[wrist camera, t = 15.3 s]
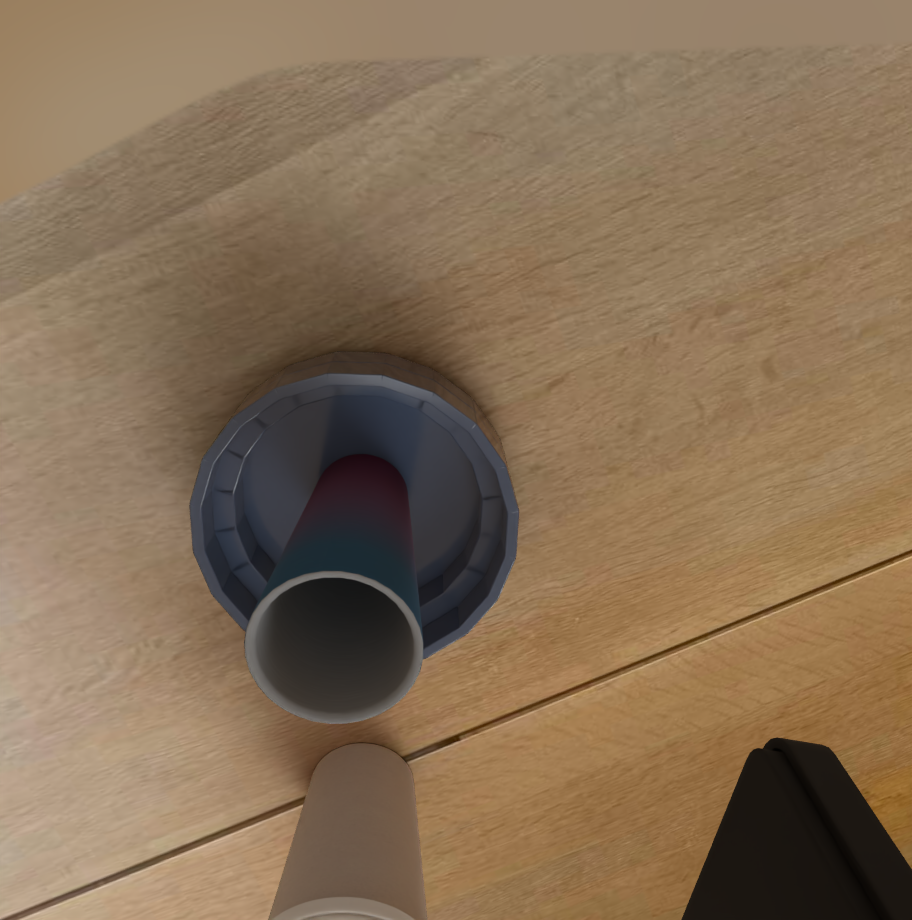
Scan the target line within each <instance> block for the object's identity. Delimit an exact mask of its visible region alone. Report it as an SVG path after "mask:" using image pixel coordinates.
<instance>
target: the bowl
mask: <svg viewBox="0 0 912 920" xmlns="http://www.w3.org/2000/svg"><path fill="white" fill-rule="evenodd" d="M354 454H368V455H373V456H376V457H379V458H382V459H384V460H385V461H387V462H389V463H390V464H392V465H393V466H394V467H395V468H396V469H397V470H398V471H399V473H400V474H401V476H402V477H403V479H404V481H405V483H406V487H407V491H408V499H409V508H410V518H411V527H412V537H413V547H414V556H415V566H416V575H417V585H418V595H419V604H420V614H421V623H422V633H423V659H426V658H428V657H430V656H431V655H433V654H435V653H436V652H438V651H440V650H441V649H443V648H445V647H446V646H448V645H450V644H451V643H453V642H455V641H456V640H458V639H460V638H461V637H463V636H465V635H466V634H468V633H469V632H470V630H471V629H472V628H473V627H474V626H475V625H476V624H477V623H478V622H479V620H480V619H481V618H482V617H483V616H484V615H485V614H486V613H487V611H488V610H489V609H490V608H491V607H492V606H493V605H494V604H495V603H496V601H497V600H498V598H499V596H500V594H501V591H502V589H503V587H504V585H505V582H506V580H507V578H508V575H509V573H510V571H511V568H512V566H513V564H514V561H515V559H516V552H517V537H518V523H519V508H518V504H517V500H516V496H515V492H514V488H513V484H512V480H511V477H510V473H509V470H508V466H507V462H506V459H505V455H504V452H503V448H502V445H501V441H500V438H499V436H498V434H497V433H496V431H495V430H494V428H493V427H492V426H491V424H490V423H489V421H488V420H487V418H486V417H485V416H484V414H483V413H482V411H481V410H480V408H479V407H478V405H477V404H476V403H475V401H474V400H473V399H472V398H471V397H470V396H469V395H467V394H466V393H465V392H463V391H462V390H461V389H459V388H458V387H457V386H455V385H454V384H453V383H451V382H450V381H449V380H447V379H446V378H445V377H443V376H442V375H441V374H439V373H438V372H437V371H435V370H434V371H433V369H431V368H428V367H426V366H423V365H420V364H417V363H414V362H411V361H408V360H405V359H403V358H400V357H397V356H394V355H391V354H387V353H373V352H339V351H337V352H333V353H330V354H326V355H323V356H319V357H316V358H312V359H309V360H305V361H302V362H298V363H295V364H292V365H289V366H287V367H286V368H284V369H283V370H281V371H280V372H278V373H277V374H275V375H274V376H273V377H271V378H270V379H268V380H267V381H265V382H264V383H262V384H261V385H260V386H258V387H257V388H255V389H254V390H252V391H251V392H250V393H249V394H248V395H247V396H246V398H245V399H244V401H243V402H242V403H241V405H240V406H239V407H238V409H237V410H236V412H235V413H234V414H233V416H232V417H231V418H230V420H229V421H228V423H227V424H226V425H225V427H224V428H223V429H222V431H221V432H220V434H219V435H218V437H217V438H216V439H215V441H214V442H213V444H212V445H211V446H210V448H209V449H208V451H207V452H206V454H205V455H204V456H203V458H202V461H201V464H200V468H199V472H198V475H197V479H196V482H195V486H194V489H193V493H192V496H191V500H190V505H189V507H190V520H191V533H192V546H193V551H194V552H193V553H194V555H195V558H196V560H197V562H198V565H199V567H200V569H201V571H202V574H203V576H204V578H205V580H206V583H207V585H208V587H209V590H210V592H211V594H212V595H213V597H214V598H215V599H216V600H217V601H218V602H219V603H220V605H221V606H222V607H223V608H224V609H225V610H226V611H227V612H228V614H229V615H230V616H231V617H232V618H233V619H234V620H235V621H236V623H237V624H238V625H239V626H240V627H241V628H242V629H243V630H245V632H246V628H247V625H248V622H249V620H250V617H251V615H252V613H253V611H254V609H255V607H256V605H257V603H258V601H259V599H260V597H261V595H262V593H263V591H264V589H265V587H266V585H267V583H268V581H269V579H270V577H271V575H272V573H273V571H274V569H275V567H276V565H277V563H278V561H279V559H280V557H281V555H282V553H283V551H284V549H285V547H286V545H287V543H288V541H289V539H290V537H291V535H292V533H293V531H294V529H295V527H296V525H297V523H298V521H299V519H300V517H301V515H302V513H303V511H304V509H305V507H306V505H307V503H308V501H309V499H310V497H311V495H312V493H313V491H314V489H315V487H316V485H317V483H318V481H319V479H320V477H321V475H322V474H323V472H324V471H325V469H327V468H328V467H329V466H330V465H331V464H332V463H333V462H335V461H337V460H338V459H340V458H343V457H345V456H349V455H354Z"/></svg>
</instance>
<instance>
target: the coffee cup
mask: <svg viewBox="0 0 912 920" xmlns="http://www.w3.org/2000/svg"><path fill="white" fill-rule="evenodd" d="M268 920H427V910H426V900H425V890H424V880H423V870H422V860H421V850H420V840H419V829H418V819H417V809H416V798H415V788H414V779H413V775H412V772H411V770H410V768H409V766H408V765H407V763H406V762H405V761H404V760H403V759H402V758H401V757H400V756H399V755H398V754H396V753H395V752H393V751H391V750H390V749H387V748H385V747H382V746H379V745H375V744H368V743H356V744H349V745H345V746H342V747H339V748H337V749H335V750H333V751H331V752H330V753H328V754H327V755H326V756H325V757H323V758H322V759H321V761H320V762H319V763H318V764H317V766H316V768H315V770H314V772H313V775H312V778H311V782H310V785H309V788H308V791H307V795H306V798H305V801H304V805H303V808H302V811H301V815H300V818H299V821H298V824H297V828H296V831H295V834H294V838H293V841H292V844H291V847H290V851H289V854H288V857H287V860H286V864H285V867H284V870H283V874H282V877H281V880H280V883H279V887H278V890H277V893H276V896H275V899H274V903H273V906H272V909H271V912H270V915H269V919H268Z"/></svg>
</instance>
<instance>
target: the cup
mask: <svg viewBox="0 0 912 920" xmlns="http://www.w3.org/2000/svg"><path fill="white" fill-rule="evenodd" d="M244 646H245V658H246V661H247V664H248V667H249V670H250V673H251V675H252V676H253V678H254V680H255V682H256V684H257V685H258V687H259V688H260V689H261V690H262V691H263V692H264V693H265V695H266V696H267V697H268V698H269V699H270V700H272V701H273V702H274V703H276V704H277V705H278V706H279V707H281V708H282V709H284V710H286V711H288V712H290V713H292V714H294V715H295V716H298V717H301V718H304V719H307V720H310V721H315V722H321V723H328V724H346V723H352V722H357V721H363V720H366V719H368V718H371V717H374V716H377V715H379V714H381V713H382V712H384V711H386V710H388V709H390V708H391V707H393V706H394V705H395V704H396V703H397V702H398V701H400V700H401V699H402V698H403V697H404V696H405V695H406V693H407V692H408V691H409V690H410V688H411V687H412V686H413V684H414V682H415V680H416V678H417V676H418V674H419V672H420V669H421V665H422V660H423V633H422V623H421V614H420V604H419V595H418V585H417V575H416V566H415V556H414V547H413V537H412V527H411V518H410V508H409V499H408V491H407V487H406V483H405V481H404V479H403V477H402V476H401V474H400V473H399V471H398V470H397V469H396V468H395V467H394V466H393V465H392V464H390V463H389V462H387V461H385V460H384V459H382V458H379V457H376V456H373V455H368V454H354V455H349V456H345V457H343V458H340V459H338V460H337V461H335V462H333V463H332V464H331V465H330V466H329V467H328V468H327V469H325V471H324V472H323V474H322V475H321V477H320V479H319V481H318V483H317V485H316V487H315V489H314V491H313V493H312V495H311V497H310V499H309V501H308V503H307V505H306V507H305V509H304V511H303V513H302V515H301V517H300V519H299V521H298V523H297V525H296V527H295V529H294V531H293V533H292V535H291V537H290V539H289V541H288V543H287V545H286V547H285V549H284V551H283V553H282V555H281V557H280V559H279V561H278V563H277V565H276V567H275V569H274V571H273V573H272V575H271V577H270V579H269V581H268V583H267V585H266V587H265V589H264V591H263V593H262V595H261V597H260V599H259V601H258V603H257V605H256V607H255V609H254V611H253V613H252V615H251V617H250V620H249V622H248V625H247V628H246V634H245V641H244Z"/></svg>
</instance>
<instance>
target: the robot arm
mask: <svg viewBox="0 0 912 920" xmlns="http://www.w3.org/2000/svg"><path fill="white" fill-rule="evenodd" d="M682 920H912V869H911V868H910V866H909V865H908V863H907V862H906V860H905V859H904V857H903V856H902V854H901V853H900V851H899V850H898V848H897V847H896V845H895V844H894V842H893V841H892V839H891V838H890V836H889V835H888V833H887V832H886V830H885V829H884V827H883V826H882V824H881V823H880V821H879V820H878V818H877V817H876V815H875V814H874V812H873V811H872V809H871V808H870V806H869V805H868V803H867V802H866V800H865V799H864V797H863V796H862V794H861V793H860V791H859V790H858V788H857V787H856V785H855V784H854V782H853V781H852V779H851V778H850V776H849V775H848V773H847V772H846V770H845V769H844V767H843V766H842V764H841V763H840V761H839V760H838V758H837V757H836V755H835V754H834V753H833V752H832V751H831V749H830V748H829V747H826V746H824V745H820V744H814V743H807V742H801V741H795V740H789V739H783V738H773V739H770V740H769V741H768V742H767V743H766V744H765V746H764V748H763V749H760V748H757V749H754V750H753V751H752V752H751V753H750V754H749V756H748V758H747V760H746V762H745V765H744V767H743V770H742V772H741V774H740V777H739V779H738V782H737V784H736V787H735V789H734V792H733V794H732V797H731V799H730V802H729V804H728V806H727V809H726V811H725V814H724V816H723V819H722V821H721V824H720V826H719V829H718V831H717V834H716V836H715V838H714V841H713V843H712V846H711V848H710V851H709V853H708V856H707V858H706V861H705V863H704V866H703V868H702V871H701V873H700V875H699V878H698V880H697V883H696V885H695V888H694V890H693V893H692V895H691V898H690V900H689V903H688V905H687V907H686V910H685V912H684V915H683V917H682Z"/></svg>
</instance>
